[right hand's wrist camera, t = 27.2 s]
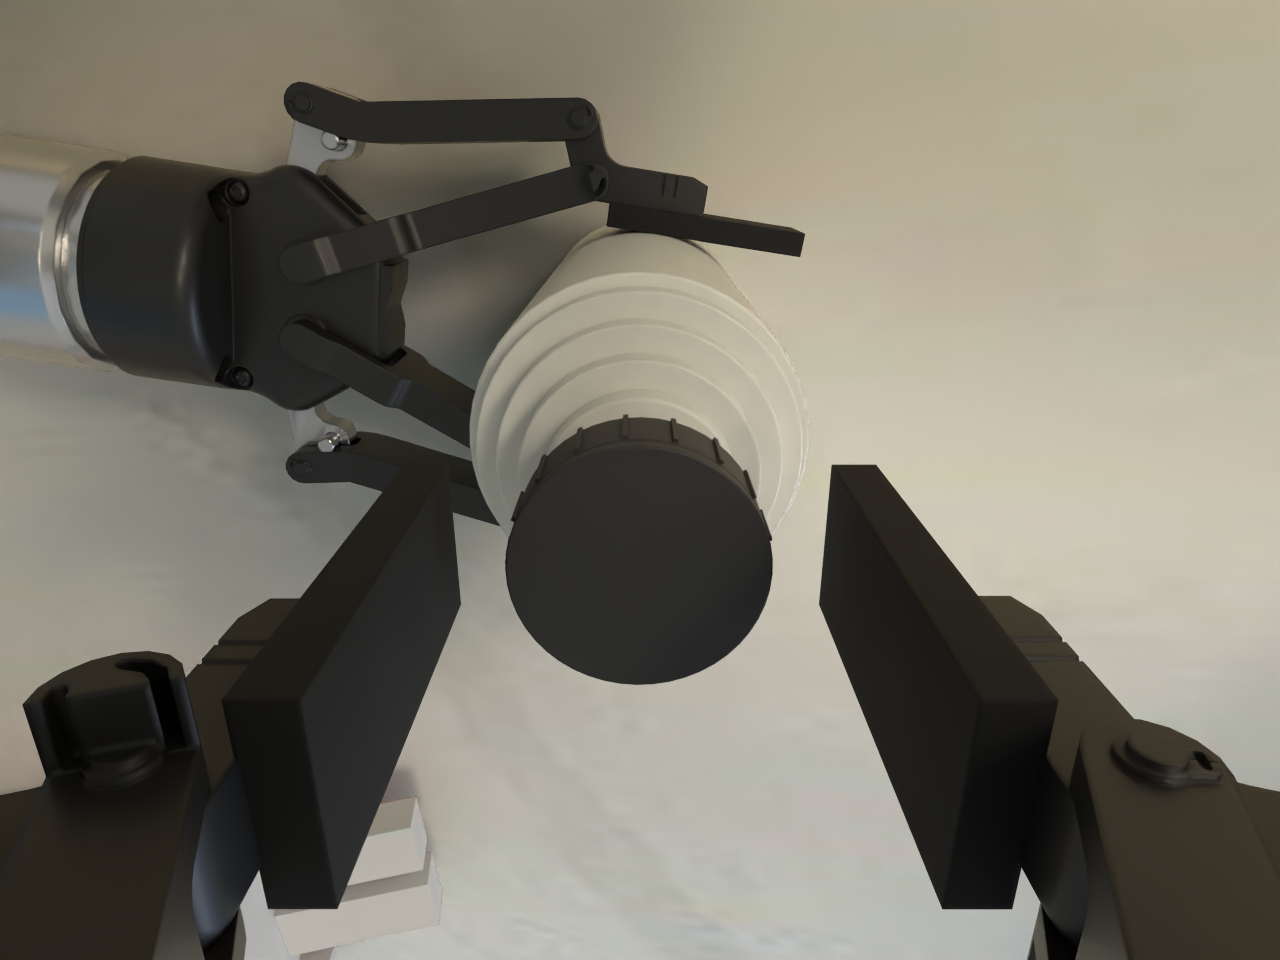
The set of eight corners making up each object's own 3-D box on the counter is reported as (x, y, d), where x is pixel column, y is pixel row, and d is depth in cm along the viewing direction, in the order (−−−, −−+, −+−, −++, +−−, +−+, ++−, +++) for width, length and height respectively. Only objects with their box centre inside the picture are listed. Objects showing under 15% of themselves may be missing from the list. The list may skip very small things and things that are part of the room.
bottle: (714, 411, 37) (817, 759, 16) (540, 388, 37) (399, 713, 15) (745, 231, 34) (924, 352, 13) (558, 205, 34) (414, 283, 12)
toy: (443, 1049, 38) (-243, 1205, 36) (461, 836, 51) (-46, 941, 48) (379, 851, 34) (-405, 1013, 32) (417, 671, 46) (-143, 777, 44)
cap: (811, 492, 14) (831, 531, 13) (678, 673, 16) (682, 727, 14) (595, 365, 13) (589, 390, 12) (474, 568, 15) (455, 614, 13)
